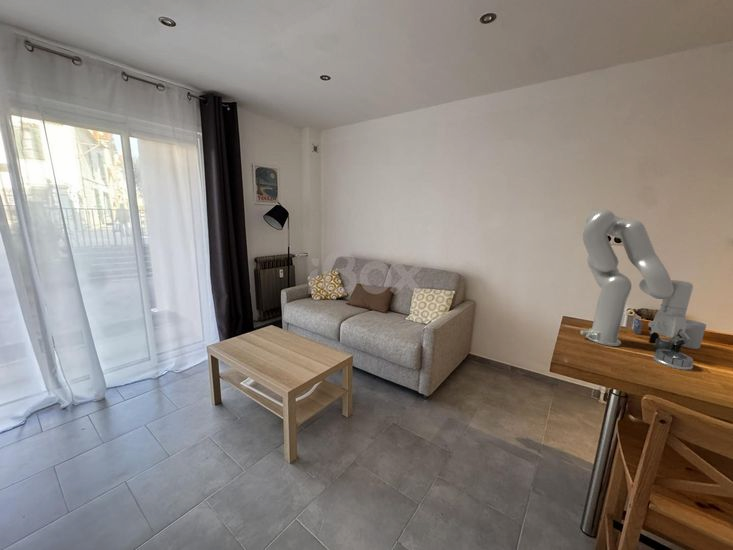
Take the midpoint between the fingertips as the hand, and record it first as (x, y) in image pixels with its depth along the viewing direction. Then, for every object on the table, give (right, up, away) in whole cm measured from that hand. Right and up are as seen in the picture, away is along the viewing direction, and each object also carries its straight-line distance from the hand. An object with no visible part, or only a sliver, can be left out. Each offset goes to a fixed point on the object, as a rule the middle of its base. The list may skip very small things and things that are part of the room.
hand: (663, 348), depth 127 cm
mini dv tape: (+8, +2, +22) cm, 23 cm away
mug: (+17, -1, +8) cm, 19 cm away
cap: (0, -2, 0) cm, 2 cm away
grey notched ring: (-7, -3, -10) cm, 13 cm away
